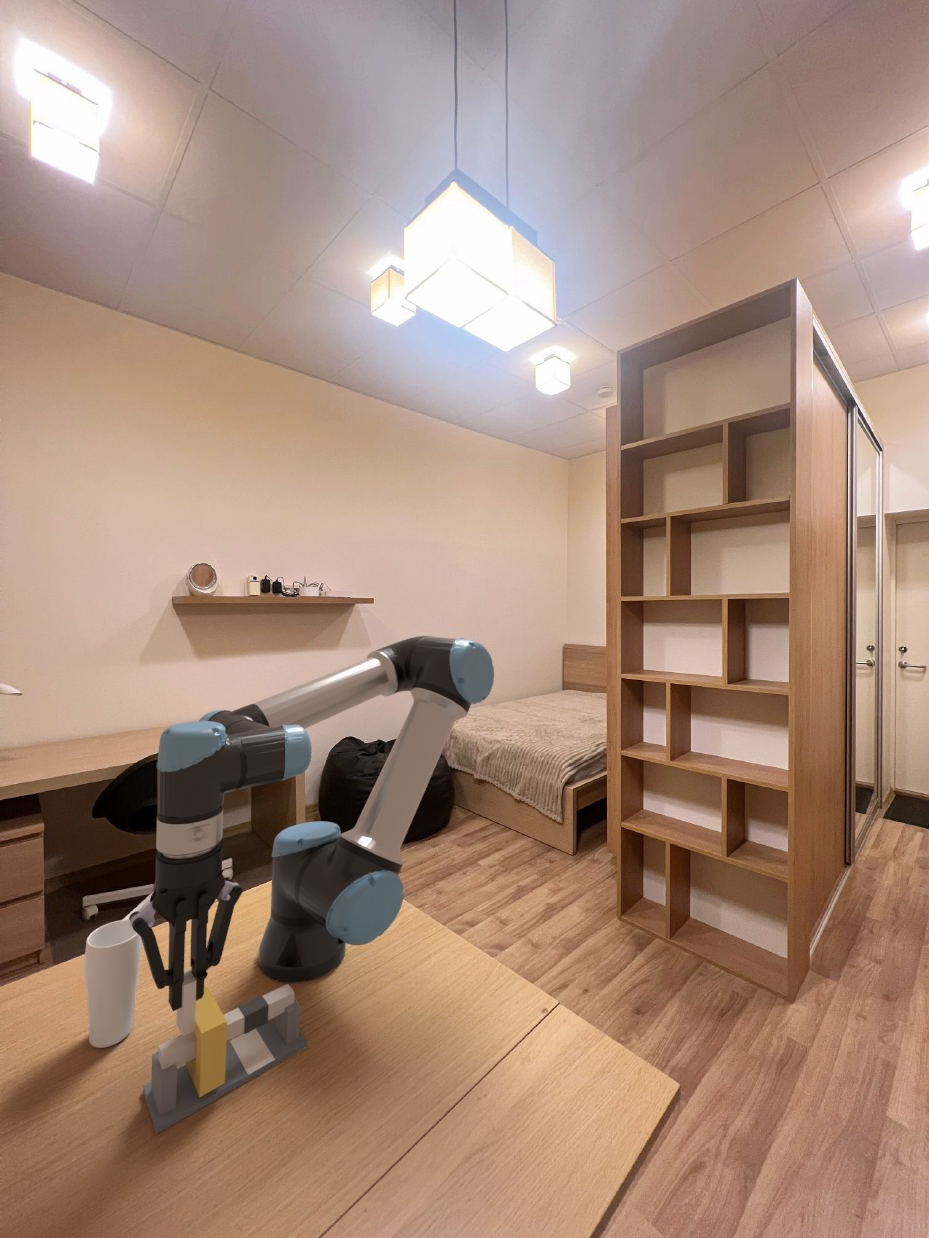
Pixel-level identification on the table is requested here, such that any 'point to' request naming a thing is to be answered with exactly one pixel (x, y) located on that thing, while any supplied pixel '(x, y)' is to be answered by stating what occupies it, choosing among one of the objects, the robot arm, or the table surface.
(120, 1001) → the white cup
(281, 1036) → the rail
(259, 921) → the table surface
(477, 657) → the robot arm
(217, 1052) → the collar
